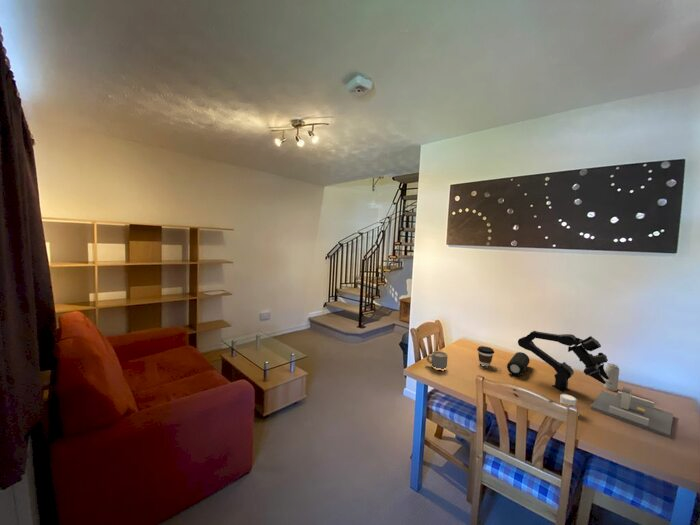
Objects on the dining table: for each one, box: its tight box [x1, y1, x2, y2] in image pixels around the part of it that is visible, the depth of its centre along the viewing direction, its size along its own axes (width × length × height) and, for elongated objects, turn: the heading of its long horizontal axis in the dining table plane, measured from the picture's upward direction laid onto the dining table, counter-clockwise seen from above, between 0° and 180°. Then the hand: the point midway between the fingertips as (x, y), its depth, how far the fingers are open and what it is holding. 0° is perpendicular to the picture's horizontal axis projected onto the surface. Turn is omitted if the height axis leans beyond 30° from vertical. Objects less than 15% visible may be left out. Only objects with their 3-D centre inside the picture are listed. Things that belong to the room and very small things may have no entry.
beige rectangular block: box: [620, 386, 633, 410], centre depth 150 cm, size 3×5×9 cm, turn 129°
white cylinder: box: [559, 393, 577, 407], centre depth 149 cm, size 7×7×7 cm
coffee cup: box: [476, 345, 495, 367], centre depth 202 cm, size 11×11×12 cm
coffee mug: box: [426, 350, 448, 369], centre depth 196 cm, size 13×10×10 cm
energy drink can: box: [603, 362, 620, 392], centre depth 173 cm, size 6×6×15 cm
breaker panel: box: [590, 390, 674, 439], centre depth 149 cm, size 28×27×4 cm
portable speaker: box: [506, 351, 531, 377], centre depth 195 cm, size 26×10×10 cm, turn 139°
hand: (606, 381), depth 156 cm, fingers open, 8 cm apart
